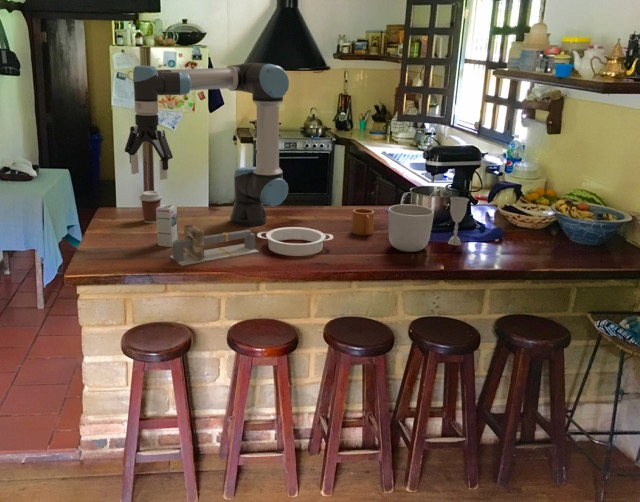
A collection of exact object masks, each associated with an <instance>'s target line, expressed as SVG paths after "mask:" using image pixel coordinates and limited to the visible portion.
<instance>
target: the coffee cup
mask: <svg viewBox="0 0 640 502" xmlns="http://www.w3.org/2000/svg"><path fill="white" fill-rule="evenodd" d="M139 200H140V201H141V208H142V217H143V222H144V223H147V224H155V223H156V224H157V218H156V208H158V207H160V206H161V201H162V200H163V196H162V195H161V194H160V191H157V190H145V191H143V192H142V193H141V195H140V196H139Z"/></svg>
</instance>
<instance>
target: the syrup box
mask: <svg viewBox="0 0 640 502" xmlns="http://www.w3.org/2000/svg"><path fill="white" fill-rule="evenodd" d="M177 209H178V207H177V205H175V204H161V205H160V207H158V208H156V218H157V223H156V230H157V231H156V232H157V234H156V235H157V245H158V246H160V247H167V248H173V243H177V240H179V227H178V226H179V224H178V210H177Z"/></svg>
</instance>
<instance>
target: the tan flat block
mask: <svg viewBox="0 0 640 502" xmlns="http://www.w3.org/2000/svg"><path fill="white" fill-rule="evenodd" d="M183 229H184V230H183V234H184V235H183V236H184V238H183V239H190V238H193V246H191V247H185V248H184V253H187V254H189V255H190V256H192V257H193V258H195V259H196V260H197V259H203V258H204V250H205V244H204V236H205V231H203V230H202V229H200V228H198V227H196V225H193V224H188V225H187V224H186V225H184V226H183Z"/></svg>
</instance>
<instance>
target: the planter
mask: <svg viewBox="0 0 640 502" xmlns="http://www.w3.org/2000/svg"><path fill="white" fill-rule="evenodd" d="M434 217H435V211H434V210H433V209H432V208H431V207H428V206H424V205H417V204H407V203H406V204H403V203H402V204H394V205H391V206H389V207H388V230H387V231H388V239H389V240H388V241H389V243H390V244H391V246H392V247H393V248H395V249H396V250H398V251H401V252H407V253H413V252H415V253H416V252H419V251H422V250H423V249H425V247H427V245H428V243H429V241H430V238H431V233H432V232H431V231H432V227H433V221H434Z"/></svg>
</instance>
